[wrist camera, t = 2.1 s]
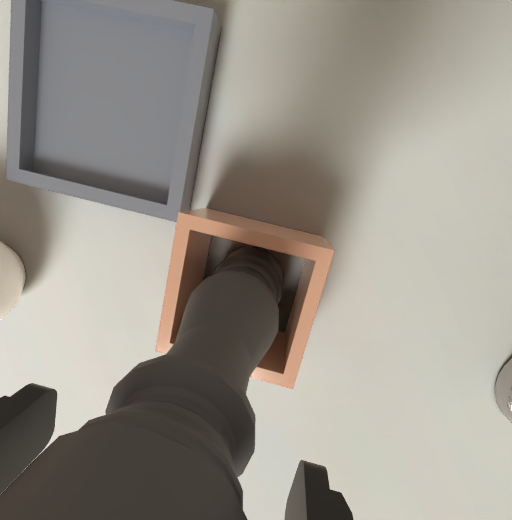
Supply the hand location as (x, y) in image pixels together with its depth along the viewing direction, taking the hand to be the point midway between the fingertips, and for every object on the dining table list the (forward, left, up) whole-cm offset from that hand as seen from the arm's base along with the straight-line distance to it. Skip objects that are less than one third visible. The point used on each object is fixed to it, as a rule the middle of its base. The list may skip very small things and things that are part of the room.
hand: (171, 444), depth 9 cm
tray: (+15, -12, -20) cm, 27 cm away
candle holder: (0, 0, -20) cm, 20 cm away
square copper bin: (0, 0, -20) cm, 20 cm away
